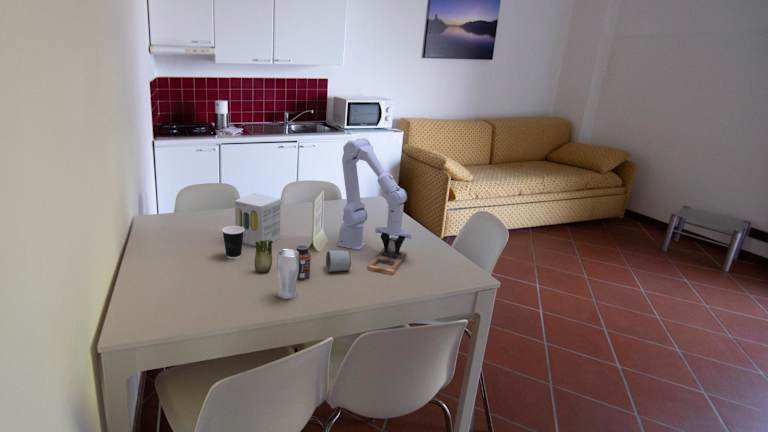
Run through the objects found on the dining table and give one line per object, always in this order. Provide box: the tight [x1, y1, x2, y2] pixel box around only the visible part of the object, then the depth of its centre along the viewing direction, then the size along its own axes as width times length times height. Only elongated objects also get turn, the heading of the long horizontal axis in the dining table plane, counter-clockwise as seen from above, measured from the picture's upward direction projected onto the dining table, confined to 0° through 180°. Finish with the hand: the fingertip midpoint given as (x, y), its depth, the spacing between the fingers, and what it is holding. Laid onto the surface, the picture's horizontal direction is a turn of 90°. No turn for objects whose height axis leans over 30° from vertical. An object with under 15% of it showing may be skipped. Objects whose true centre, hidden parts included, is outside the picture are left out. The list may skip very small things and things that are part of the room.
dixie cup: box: [221, 225, 244, 260], centre depth 184 cm, size 8×8×11 cm
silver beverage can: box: [276, 248, 299, 300], centre depth 158 cm, size 7×7×15 cm
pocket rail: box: [366, 247, 408, 276], centre depth 191 cm, size 10×20×2 cm, turn 163°
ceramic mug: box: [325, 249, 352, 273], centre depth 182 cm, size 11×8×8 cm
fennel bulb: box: [253, 240, 273, 273], centre depth 174 cm, size 6×5×12 cm
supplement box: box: [234, 192, 282, 247], centre depth 200 cm, size 13×13×18 cm
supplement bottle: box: [295, 244, 312, 281], centre depth 172 cm, size 6×6×11 cm
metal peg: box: [385, 236, 398, 259], centre depth 195 cm, size 4×4×8 cm
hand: (391, 252), depth 195 cm, fingers closed on metal peg, 4 cm apart
